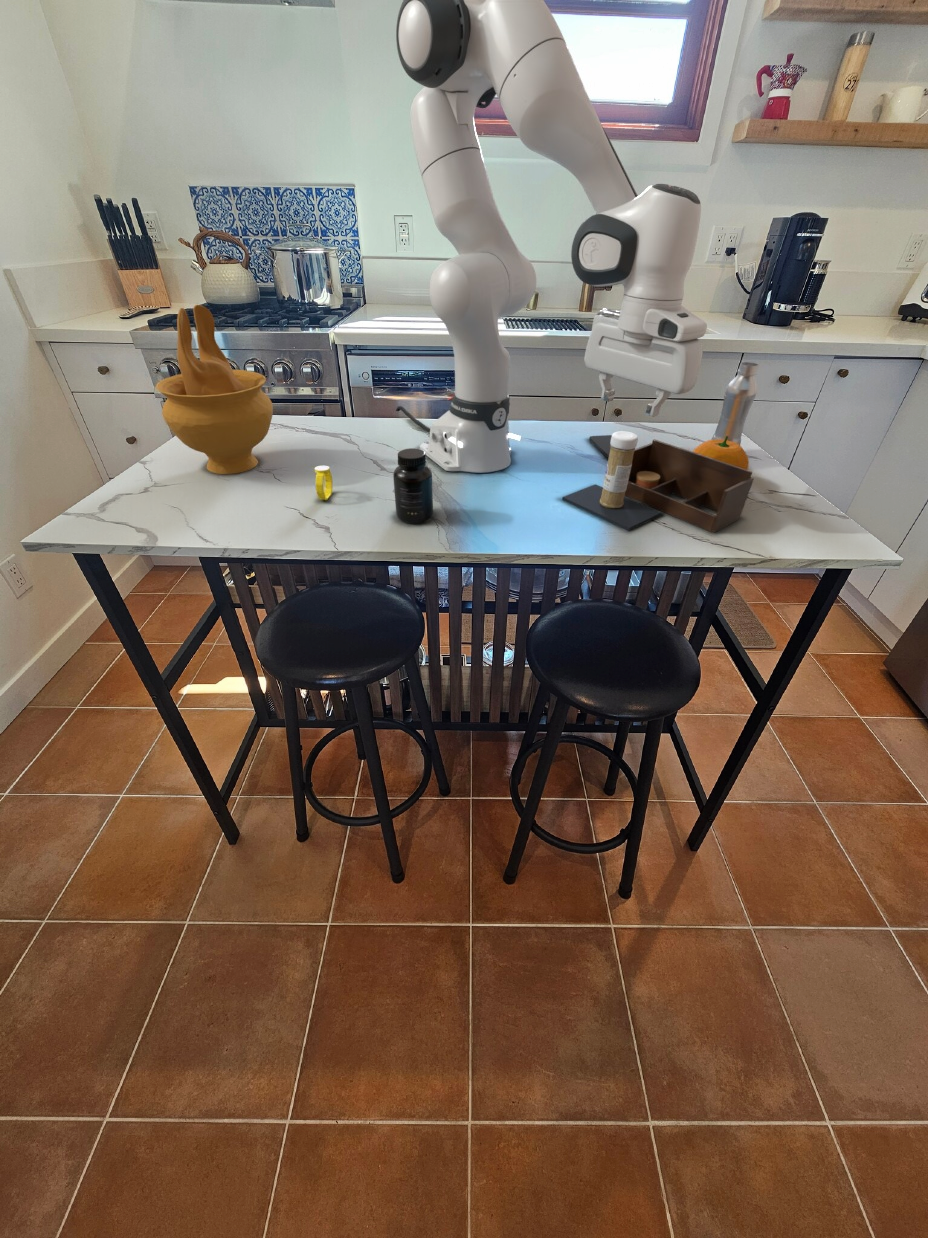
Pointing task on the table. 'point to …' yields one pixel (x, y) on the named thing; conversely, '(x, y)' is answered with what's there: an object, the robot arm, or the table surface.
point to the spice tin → (647, 479)
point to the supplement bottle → (413, 487)
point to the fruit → (724, 452)
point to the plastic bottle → (737, 403)
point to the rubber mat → (624, 516)
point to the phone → (602, 443)
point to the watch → (321, 473)
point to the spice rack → (690, 485)
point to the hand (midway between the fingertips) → (628, 407)
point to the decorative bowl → (214, 400)
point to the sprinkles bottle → (618, 469)
